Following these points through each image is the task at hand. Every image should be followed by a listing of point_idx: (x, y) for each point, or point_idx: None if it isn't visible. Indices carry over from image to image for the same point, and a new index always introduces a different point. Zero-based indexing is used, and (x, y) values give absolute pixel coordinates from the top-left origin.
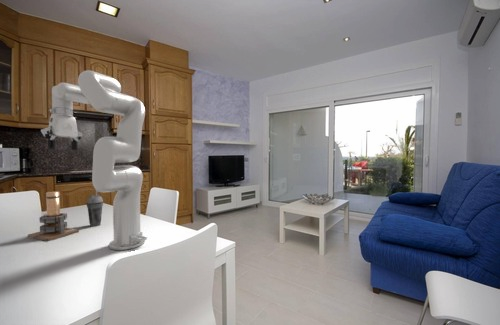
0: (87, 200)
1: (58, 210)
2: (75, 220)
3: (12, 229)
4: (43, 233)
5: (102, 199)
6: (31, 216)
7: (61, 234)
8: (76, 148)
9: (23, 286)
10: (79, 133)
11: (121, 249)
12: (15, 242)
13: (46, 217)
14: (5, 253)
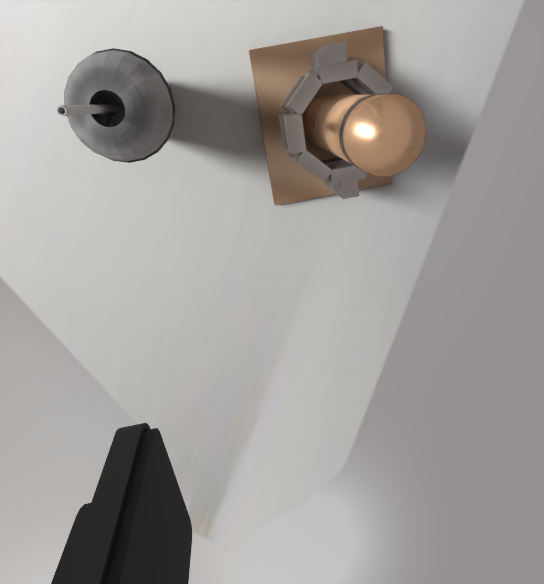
0: (165, 115)
1: (339, 98)
2: (174, 289)
3: (369, 348)
4: None
5: (71, 73)
6: (257, 494)
7: (325, 45)
8: (131, 434)
9: None
10: None
11: None
12: (439, 142)
13: None
14: (516, 14)
